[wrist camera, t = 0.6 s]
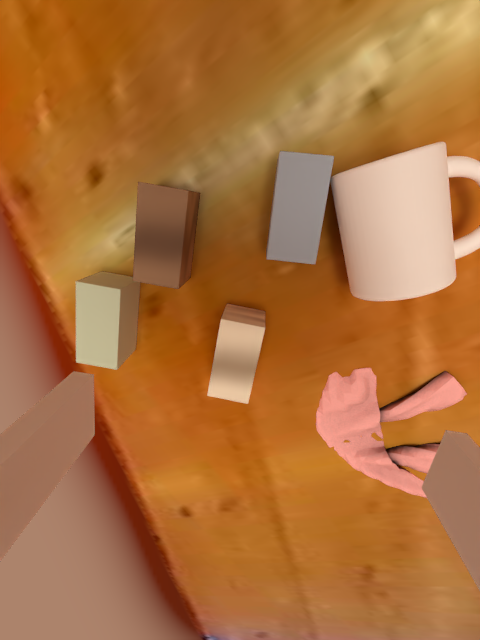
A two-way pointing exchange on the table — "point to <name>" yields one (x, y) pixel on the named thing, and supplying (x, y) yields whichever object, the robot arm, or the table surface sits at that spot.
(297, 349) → the table surface
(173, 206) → the walnut brick
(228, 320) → the birch brick
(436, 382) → the cloth
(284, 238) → the slate brick
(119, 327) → the sage brick
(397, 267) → the mug
